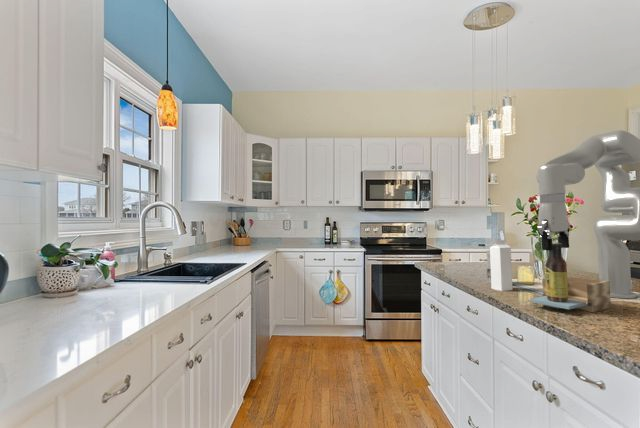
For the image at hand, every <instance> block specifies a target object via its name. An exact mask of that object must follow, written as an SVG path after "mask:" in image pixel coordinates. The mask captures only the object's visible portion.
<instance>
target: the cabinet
mask: <svg viewBox="0 0 640 428" xmlns="http://www.w3.org/2000/svg"><path fill="white" fill-rule="evenodd" d="M567 281H568V299H570V300H576V301H581V302H586V305H585V306H581V307H577V308H575V309H577V310H582V311H587V312H590V313H594V312H598V311H602V310H605V309H609V308H611V307H612V304H611V297H610V281H604V280H599V279H593V278H586V277H579V276H570V275H567ZM542 296H547V295H546V278H545V277H544V278H542Z"/></svg>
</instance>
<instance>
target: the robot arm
mask: <svg viewBox="0 0 640 428" xmlns="http://www.w3.org/2000/svg"><path fill="white" fill-rule="evenodd" d="M637 163H638V164H639V163H640V138H639V137H637V136H635V135H634V134H632V133H631V132H629V131H626V130H615V131H614V130H613V131H611V132H605V133H600V134H599V133H598V134H595V135H592V136H589V137H588V138H586V139H585V140H584V141H583V142H582V143H581V144H579V145H577V147H575V149H573V150H571V151H568V152H566V153H564V154H561V155H560V156H557V157H555V158H553V159H550V160H549V161H547V162H545V163H544V164H543V165H540V166H539V167H538V169H537V173H536V181H537V184H538V190H539V191H538V192H539V208H538V223H537V224H538V225H537V230H538V235H539V236H540V237H539V238H540V240H541V250H542V251H548V252H549V251H552V250H553V246H552V243H553V238H552V235H553V233H555V234H556V233H557V234H558V236H557V241H558V242H557V243H562V249H568V248H570V238H569V236H570V231H571V229H570V228H571V223H570V222H569V217H568V211H567V205H566V204H567V194H566V193H567V192H566V186H570V185H576V184H578V183H580V182H581V181H583V180H584V178H585V176H586V171H585V170H586V169H589V168H592V167H593V166H594V167H595V168H596V169H597V171H598V173H599V174H600V176H601V180H602V182H601V183H602V184H601V196H600V197H601V198H600V207H601V209H602V211H604V212H606V213H613V214H615V215H613V214H612V215H611V214H610V215H605V216H603V215H602V216H600V217H598V218H597V219H595V220H594V223H593V230H594V231H593V232H594V235H595V239H596V242H597V244H596V245H597V257H598V258H597V262H598V277H599V279H598V280H604V281H610V298H616V299H636V298H637V297H638V293H636V292H633V291H632V289H633V288H634V284H632V278H631V257H630V255H631V254H630V250H629V247H628V246H627V245H626V244H625V243H624V242H623V241H625V240H626V241H640V187H638V186H637V187H631V176H630V175H629V173H627V171H625V170H624V169H623V168H621V167H620V166H624V165H630V164H631V165H632V164H637ZM617 213H618V214H621V213H622V214H623V213H634V214H630V215H629V214H627V215H625V214H623V215H622V214H621V215H618V214H617ZM616 214H617V215H616Z"/></svg>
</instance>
